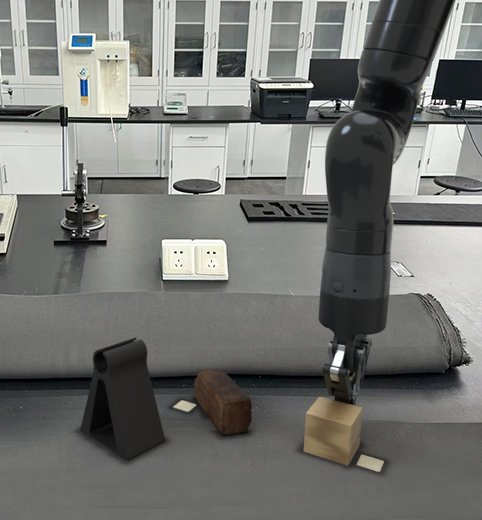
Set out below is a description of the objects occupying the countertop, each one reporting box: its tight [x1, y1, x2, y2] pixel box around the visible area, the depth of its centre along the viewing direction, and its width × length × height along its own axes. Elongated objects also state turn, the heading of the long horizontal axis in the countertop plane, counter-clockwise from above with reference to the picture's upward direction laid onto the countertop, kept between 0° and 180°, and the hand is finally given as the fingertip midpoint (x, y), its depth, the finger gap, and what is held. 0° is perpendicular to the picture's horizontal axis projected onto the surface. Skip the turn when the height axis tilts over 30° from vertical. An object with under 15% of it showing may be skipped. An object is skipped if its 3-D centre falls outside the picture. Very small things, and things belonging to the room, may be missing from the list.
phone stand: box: [79, 337, 166, 462], centre depth 64 cm, size 9×6×12 cm, turn 42°
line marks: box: [172, 399, 385, 473], centre depth 66 cm, size 26×2×1 cm, turn 55°
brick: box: [193, 369, 253, 436], centre depth 70 cm, size 11×4×5 cm, turn 13°
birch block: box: [303, 396, 364, 466], centre depth 61 cm, size 5×5×5 cm
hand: (343, 421), depth 66 cm, fingers closed
